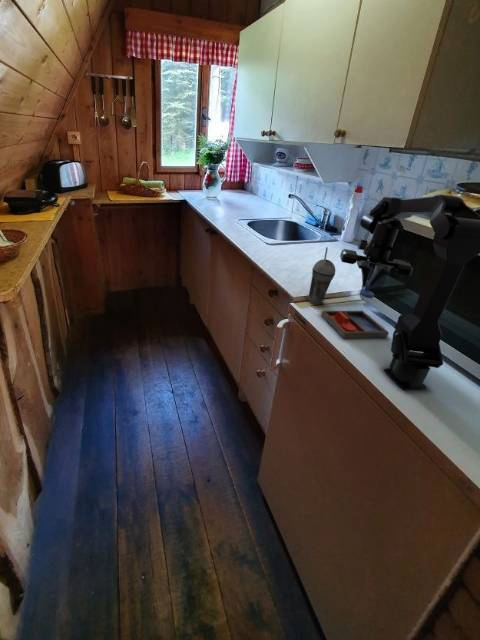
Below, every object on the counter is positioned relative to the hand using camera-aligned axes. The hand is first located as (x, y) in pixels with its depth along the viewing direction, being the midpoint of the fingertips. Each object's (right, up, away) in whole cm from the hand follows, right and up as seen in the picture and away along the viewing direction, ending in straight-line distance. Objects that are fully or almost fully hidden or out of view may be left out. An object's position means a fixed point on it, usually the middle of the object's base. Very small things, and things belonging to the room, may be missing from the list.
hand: (365, 286), depth 96 cm
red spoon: (-8, -11, -3) cm, 14 cm away
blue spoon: (-1, -2, -1) cm, 2 cm away
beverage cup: (-12, -6, +11) cm, 17 cm away
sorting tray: (-5, -12, -2) cm, 13 cm away
